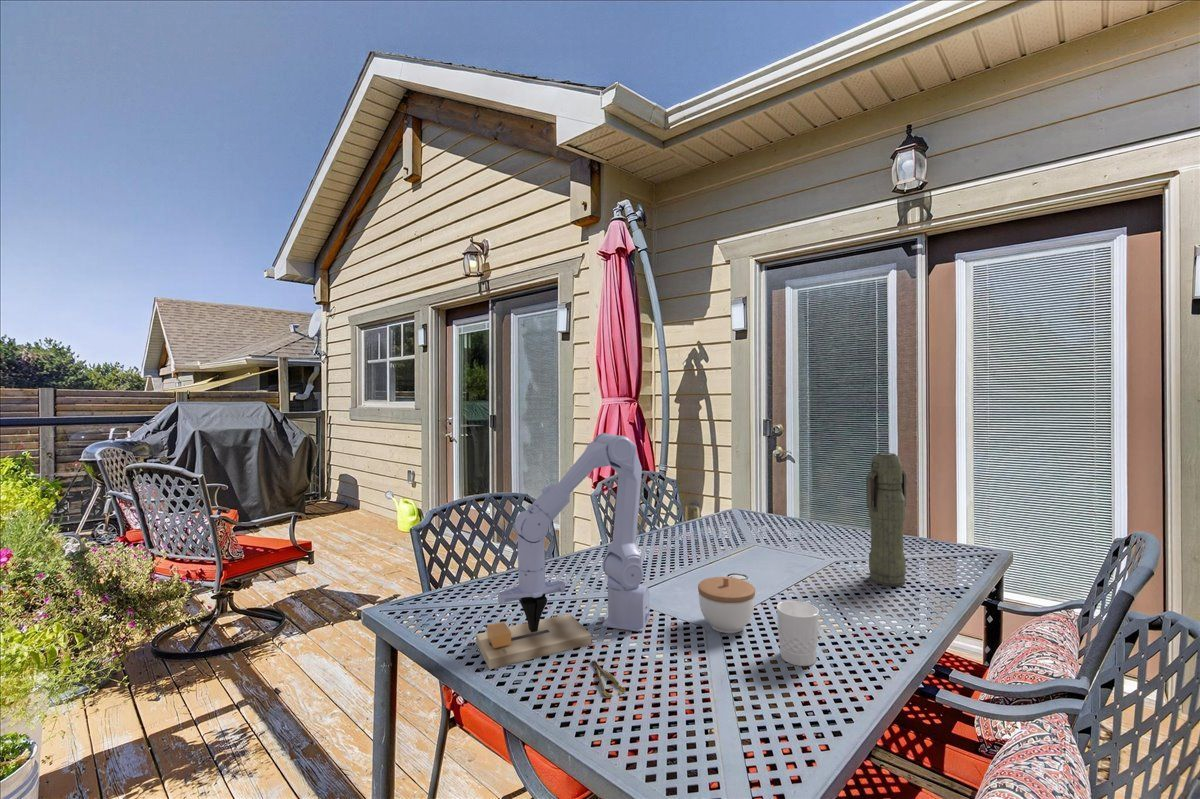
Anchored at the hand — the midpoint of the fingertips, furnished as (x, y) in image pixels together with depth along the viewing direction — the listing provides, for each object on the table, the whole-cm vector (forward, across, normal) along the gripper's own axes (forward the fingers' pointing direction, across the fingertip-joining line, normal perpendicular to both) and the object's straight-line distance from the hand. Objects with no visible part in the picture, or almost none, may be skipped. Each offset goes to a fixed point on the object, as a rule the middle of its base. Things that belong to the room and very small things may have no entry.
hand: (533, 630), depth 113 cm
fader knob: (+1, -7, 0) cm, 8 cm away
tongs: (+4, +7, -19) cm, 21 cm away
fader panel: (+3, 0, 0) cm, 3 cm away
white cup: (+3, +45, -30) cm, 55 cm away
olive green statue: (+3, +98, -11) cm, 99 cm away
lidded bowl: (+3, +42, -13) cm, 44 cm away
